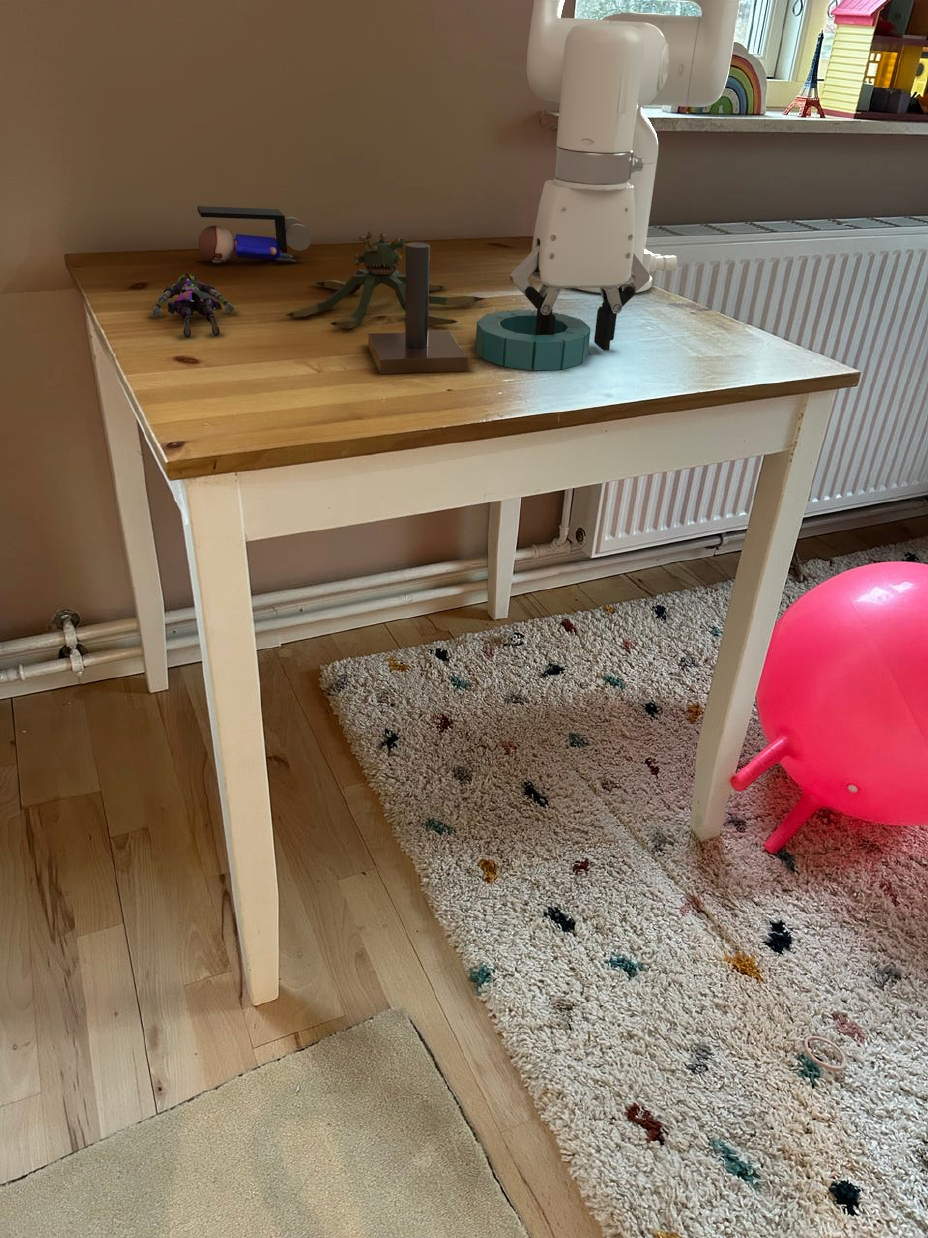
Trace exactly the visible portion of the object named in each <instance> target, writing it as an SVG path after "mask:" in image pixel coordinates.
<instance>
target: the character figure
mask: <svg viewBox="0 0 928 1238" xmlns="http://www.w3.org/2000/svg"><path fill="white" fill-rule="evenodd" d="M211 284H212V283H209V285H208V284H205V283H204V282H200V281H199V280H198V279H197V277H196V276H195V275H194V274H191V273H190V272H189V273H188V272H186V273H183V274H182V275H180V276H179V277H178V278H177V282H175V283H173V284H172V285H171V286H168V285H167V284H166V286H165V287H166V288H165V289H164V290H163V294H162V295H160V296H159V298H158V300H157V302H156V304H155V305H154V307H153V308H152V310H151V314H152V315H151V316H153V318H155V319H157V316H158V315H159V318H162V313H161V311H162V310H161V308H162V306H163V304H165V302H167V301H168V300H170V299H173V297H175V296H177V297H176V298H175V300H174V301H172V300H170V301H169V302H168V303H167V309H166V311H167V312H168V313H169V314H171V315H175V314H178V315H179V317H182V321H183V323H184V324H183V329H182V333H183V336H184V337H185V338H190V337H191V335H192V330H191V325H192V316H194V312H197V314H198V315H200V316H202V317H203V318H205V319H206V321H207V322H209V324H210V326H211V327H210V328H211V333H212V335H213V336H214V337H218V336H219V335H220V327H219V325H218V323H217V321H216V318H215V312H217V313H218V312H220V311H222V310H223V307H222V305H221V304H223V305H224V310H225V314H228V311H229V312H230V314H231V315H233V314H235V312H236V309H235V307H234V305H233V304H231V302H230V301H228V300H227V299H226V298H225V297H224V295H222V294H221V293H219V292H218V291H217V290H216V288H215V287H214V286H212V285H211ZM220 302H221V303H220ZM214 311H215V312H214Z"/></svg>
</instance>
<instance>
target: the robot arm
mask: <svg viewBox="0 0 928 1238" xmlns="http://www.w3.org/2000/svg"><path fill="white" fill-rule="evenodd" d="M658 1H660V2H682V3H683V2H684V3H693V4H695V5H696V7H698V8H699V10H700V16H697V15H681V14H680V15H678V14H666V13H651V12H619V13H613V14H611V15H608V16H607V15H606V16H605V17H603V18H601V19H593V18H575V17H562V11H563V7H564V3H565V0H533V6H532V12H531V13H532V14H531V21H530V26H529V35H528V41H527V42H528V43H527V50H526V51H527V52H526V77H527V83H528V86H529V88H530V90H531V92H532V93H533V94H534V96H535V97H537V98H538V99H540V100H542V101H545V102H550V103H559V109H558V120H557V133H556V144H555V146H556V147H555V157H554V168H553V169H554V170H553V179H549V180H548V179H547V180H545V181H544V184H543V186H542V187H543V188H542V191H541V194H540V195H541V196H540V200H539V204H538V209H537V214H536V220H535V224H534V225H535V226H534V230H533V238H532V246H531V252H530V253H529V254H528V255H527V256H526V257H525V258H524V259H523V260H522V261H521V262H520V263H519V265H517V266H516V268H515V269H514V270H513V271H512V272H511V273H510V276H509V280H510V282H512V283H513V284H514V285H515V286H516V288H517V289H518V290H520V292H521V293H522V294H523V295H524V296H525V298H527V300H528V301H529V302H530V303H531V305H533V307H535V310H537V319H536V331H535V335H553V334H554V330H555V316H554V315H553V314H552V312H553V310H554V309H553V308H554V306H555V304H556V301H557V299H558V297H559V294H560V292H561V290H562V289H577V290H581V291H585V292H590V293H598V294H600V297H601V300H602V303H601V306H598V309H597V311H596V320H595V327H594V328H595V329H594V337H593V342H594V344H595V345H596V346H598V348H600V349H601V350H602V351H610V346H611V345H610V344H611V341H614V338H615V332H616V325H617V324H616V323H617V316H618V314H619V313H621V312H622V310H623V307H624V306H625V305H626V304H627V303H628V302H629V301H630V300H631V299H633V298H634V296H635V295H636V294H638V293H642V292H646V291H647V290H649V289H651V287H652V285H653V277H652V276H651V275H650V274H654V273H655V271H662V272H666V271H667V272H675V271H676V270H677V266H678V258H677V256H676V255H661V254H660V253H652V252H651V251H649V250H647V249H646V244H647V237H648V230H649V221H650V215H651V207H652V201H653V193H654V186H655V179H656V173H657V165H658V158H659V157H658V156H659V140H658V136H657V133H656V130H655V129H654V127H653V126H652V125H653V124H652V123H651V122H650V120H649V119H648V117H647V115H646V114H645V112H644V110H643V107H645V106H654V105H655V106H669V107H670V106H671V107H686V108H687V107H688V108H689V107H690V108H704V107H710V106H712V105H713V104H715V103H717V102H718V101H719V99H720V98H721V97H722V95H723V93H724V90H725V89H726V85H727V82H728V77H729V73H730V69H731V68H730V67H731V62H732V57H733V50H734V42H735V37H736V30H737V24H738V19H739V11H740V4H741V0H658ZM531 275H532V276H533V277H535V278H537V279H540V282H541V283H540V286H539V289H538V290H537V289H536V287H534V286H533V285H532V284H531V282H530V276H531Z"/></svg>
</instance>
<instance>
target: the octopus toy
mask: <svg viewBox="0 0 928 1238" xmlns="http://www.w3.org/2000/svg"><path fill="white" fill-rule="evenodd" d="M378 235H379V236H378V237H379V241H376V242H374V239H373V238H372V236H373V231H367V235H366V236H364V235H360V236H359V237H358V240H359V241H360V242H363V243H364V244H366V245H365V247H364V251H363V255H361V254H360V253H357V252H356V253H355V255H353V257H352V258H353V265H354V266H357V267H360V265H361V264H362V263H364V267H365V268H364V269H357V271H356V273H355V274H352V275H351V277H350V278H349V279H348V280H347V281H345V282H344V281H342V280H341V281H340V280H336V279H331V280H324V281H319V282H315V285H318V286H320V287H324V288H327V289H333V290H336V291H335V292H334V293H333V294H332V295H330V296H329V297H328V298H327V299H326V300H324V301H321V302H317V303H312V304H310V305H307V306H304V307H302V308H298V309H297V310H294V311H291V312H289V313H286V314H285V316H288V317H291V318H294V317H295V318H301V317H308V316H310V315H312V314H316V313H319V312H324V311H328V310H331V309H332V308H334V307H335V306H336V305H337V304H339V302H341V301H342V300H344V298H345V297H347V296H348V295H353V294H355V293H356V292H358V291H359V290H360V289H361V287H362V286H363V288H362V292H361V297H360V300H359V306H358V308H357V309H356V310H355V311H354V312H353V313H351V315H349V316H348V317H344V318H341V319H338V320H335V321H332V322H330V323H329V324H330V325H332V326H335V327H338V328H344V329H348V330H349V329H352V328H354V327H357V326H358V325H359V324H360V323H361V322H362V321H363V320H364V319H365V317H366V316H367V314H368V312H369V308H370V304H371V300H372V296H373V292H374V291H375V289H376V287H377V286H379V285H381V284H382V285H384V286H388V287H389V288H390V289H392V290H394V292H395V295H396V297H397V300H398V302H399V305H400V307H401V308H402V309H403V310H404V311H405V291H406V274H402V273H401V272H400V270H399V269H397V268H398V265H400V263H401V261H402V259H403V256H401V252H400V251H397V249H403V250H406V244H407V243H406V240H405V239H406V238H400V237H396V238H395V239H394V240H393V241H387V242H386V239H385V238H386V234H385V233H383V232H380V233H379V234H378ZM443 288H445V285H441V284H436V283H431V282H429V292H430V291H438V290H441V289H443ZM484 300H487V297H486V298H485V297H480V296H474V295H473V296H472V295H463V296H462V295H461V296H448V297H447V296H441V295H433V294H431V293H429V305H430V304H431V305H432V304H433V305H440V306H441V305H442V306H455V305H456V306H457V305H469V304H472V303H476V302H479V301H484ZM456 323H459V321H458V320H456V319H453V318H451V317H447V316H443V315H440V314H435V313H431V312H429V317H428V325H432V326H442V325H443V326H444V325H451V324H452V325H453V324H456Z"/></svg>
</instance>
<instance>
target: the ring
mask: <svg viewBox="0 0 928 1238" xmlns="http://www.w3.org/2000/svg"><path fill="white" fill-rule="evenodd" d="M552 314H553V315H554V316H555V330H554V334H553V335H535V331H536V319H537V309H533V310H532V309H506V310H500V311H495V312H490V313H486V314H483V316H482V317H480V318H479V319H478V320H477V321H476V331H475V351H476V352H477V354H478V355H479V356H480V358H481V359H483V360H485V361H488V362H490V363H493V364H496V365H498V366H501V367H505V368H511V369H519V370H526V371H532V370H533V371H557V370H558V371H559V370H565V369H568V368H572V367H576V366H578V365H582V364H583V363H584V362H585V360H586V359H587V358H588V356H589V348H590V337H591V327H590V326H589V325H588V323H586V322H585V321H584V320H582V319H580V318H577V317H574V316H571V315H568V314H564V313H559V312H554V311H552Z"/></svg>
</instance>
